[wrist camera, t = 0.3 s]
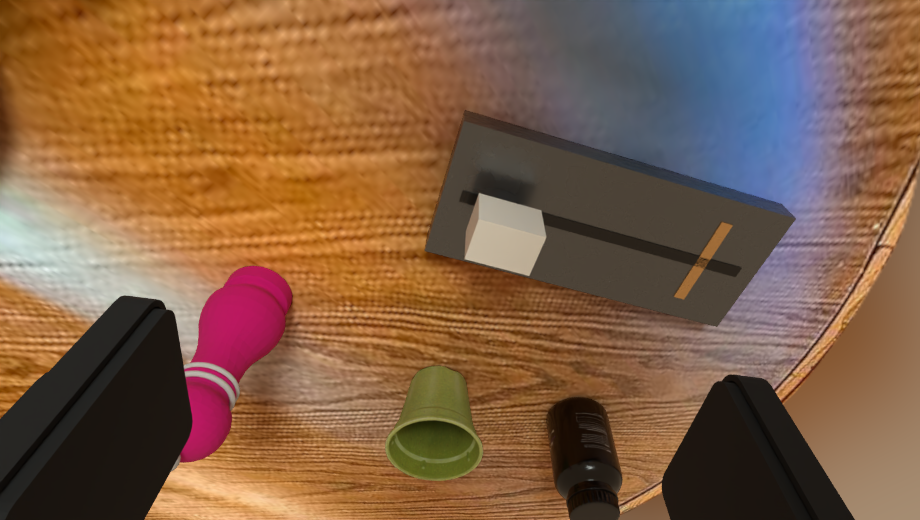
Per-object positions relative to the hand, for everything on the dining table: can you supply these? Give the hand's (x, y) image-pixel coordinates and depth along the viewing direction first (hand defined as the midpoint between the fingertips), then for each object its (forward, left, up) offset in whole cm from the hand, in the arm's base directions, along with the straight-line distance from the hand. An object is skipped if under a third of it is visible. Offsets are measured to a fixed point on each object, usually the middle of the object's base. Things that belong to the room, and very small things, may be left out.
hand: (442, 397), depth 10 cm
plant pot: (+36, +7, -36) cm, 51 cm away
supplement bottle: (+36, +23, -36) cm, 56 cm away
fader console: (+12, +15, -35) cm, 40 cm away
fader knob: (+12, +6, -32) cm, 35 cm away
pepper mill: (+29, -13, -36) cm, 48 cm away
